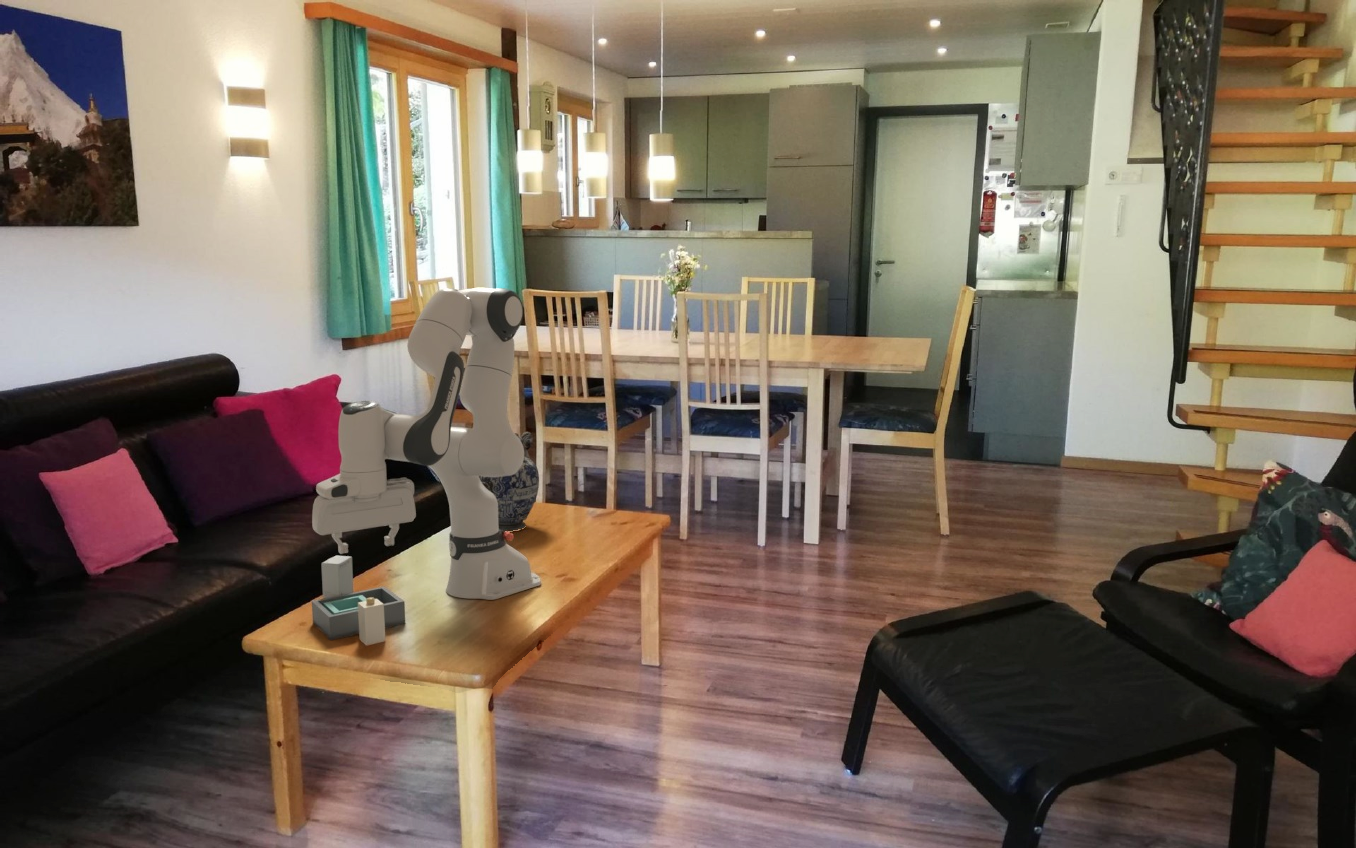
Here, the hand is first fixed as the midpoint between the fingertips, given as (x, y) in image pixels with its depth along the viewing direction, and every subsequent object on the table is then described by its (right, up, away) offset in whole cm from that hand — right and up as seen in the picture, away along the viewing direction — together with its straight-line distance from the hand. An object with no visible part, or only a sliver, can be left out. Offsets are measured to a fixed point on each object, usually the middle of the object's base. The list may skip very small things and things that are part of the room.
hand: (366, 549), depth 194 cm
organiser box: (-6, -18, +12) cm, 22 cm away
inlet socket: (-7, -18, +11) cm, 22 cm away
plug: (0, -19, +3) cm, 20 cm away
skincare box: (-12, -17, +20) cm, 29 cm away
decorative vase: (+13, -5, +87) cm, 89 cm away
